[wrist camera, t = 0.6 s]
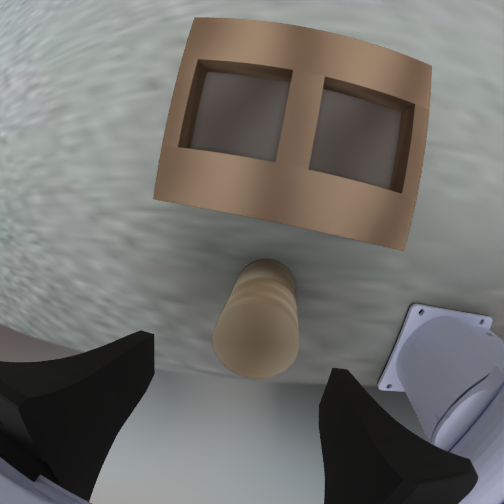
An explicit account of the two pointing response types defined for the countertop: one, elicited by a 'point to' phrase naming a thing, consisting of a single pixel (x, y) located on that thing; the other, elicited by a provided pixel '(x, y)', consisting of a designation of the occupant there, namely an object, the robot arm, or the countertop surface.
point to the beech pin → (259, 322)
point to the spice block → (297, 129)
